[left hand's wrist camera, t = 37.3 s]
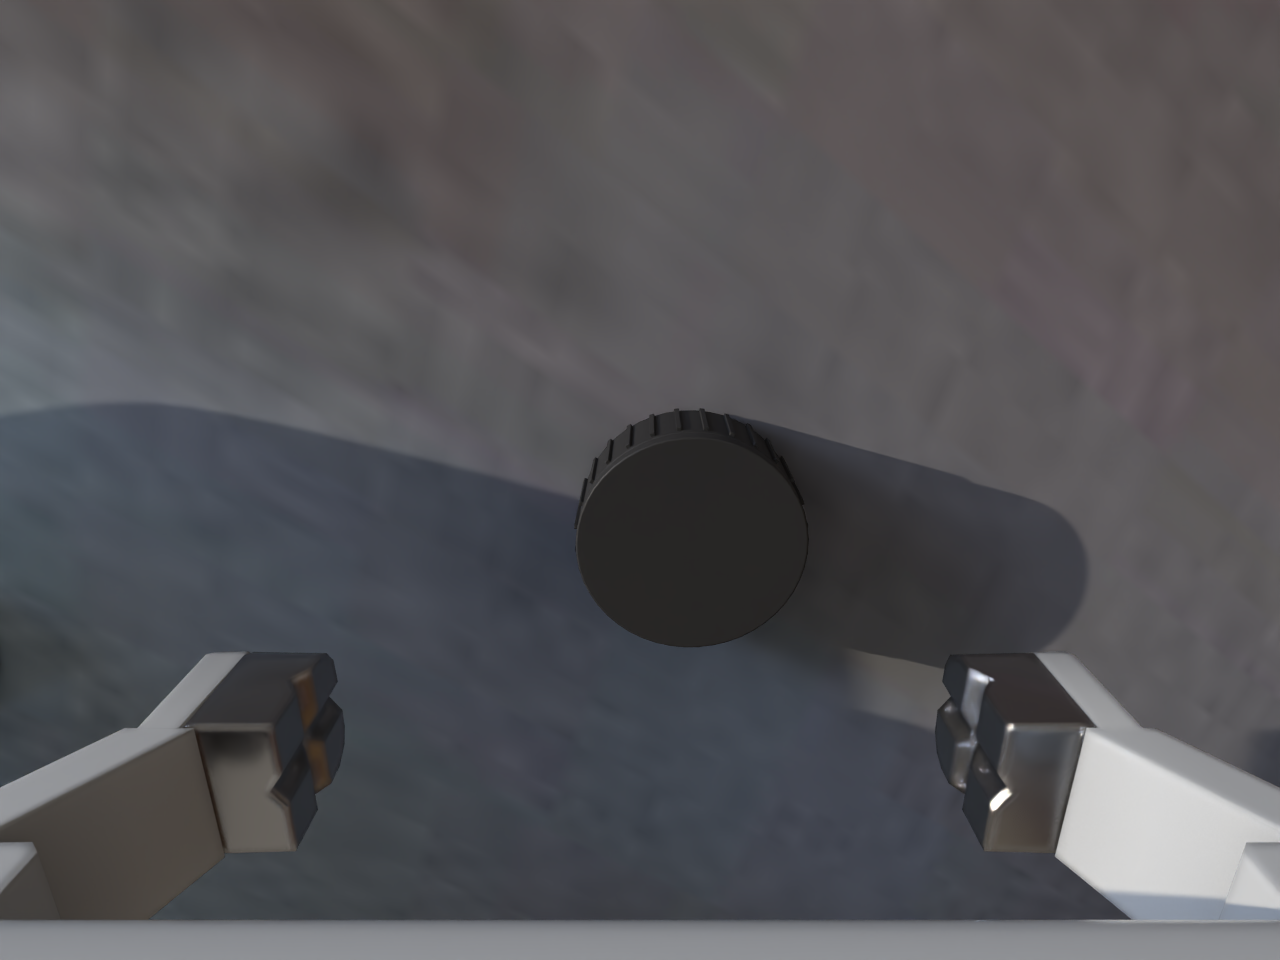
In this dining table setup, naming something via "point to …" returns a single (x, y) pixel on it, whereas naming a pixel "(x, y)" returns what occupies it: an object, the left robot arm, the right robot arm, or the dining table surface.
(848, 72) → the dining table surface
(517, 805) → the dining table surface
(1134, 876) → the left robot arm
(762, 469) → the cap
